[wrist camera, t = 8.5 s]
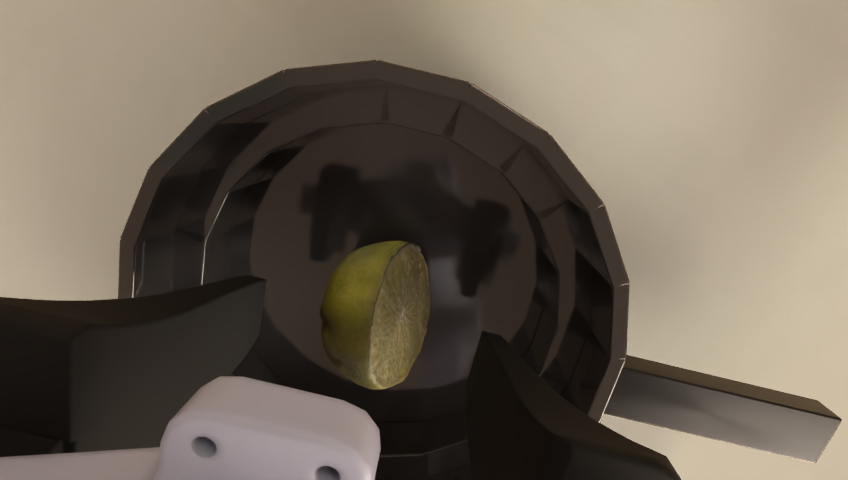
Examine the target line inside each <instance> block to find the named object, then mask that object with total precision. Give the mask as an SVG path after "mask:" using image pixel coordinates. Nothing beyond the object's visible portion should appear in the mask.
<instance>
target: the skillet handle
mask: <svg viewBox="0 0 848 480" xmlns="http://www.w3.org/2000/svg"><path fill="white" fill-rule="evenodd" d="M604 414H609V415H613V416H617V417H621V418H626V419H630V420H634V421H638V422H642V423H647V424H651V425H655V426H659V427H664V428H668V429H672V430H676V431H680V432H685V433H689V434H693V435H697V436H702V437H706V438H710V439H714V440H718V441H723V442H727V443H731V444H735V445H740V446H744V447H748V448H752V449H756V450H761V451H765V452H769V453H773V454H778V455H782V456H786V457H790V458H794V459H799V460H803V461H807V462H811V463H816V462H817V460H818V459H819V457H820V455H821V454H822V452H823V450H824V449H825V447H826V445H827V444H828V442H829V441H830V439H831V437H832V436H833V434H834V432H835V431H836V429H837V427H838V426H839V424H840V422H841V421H842V419H841V418H839V417H838V416H837V415H836V414H834V413H833V412H832V411H830V410H829V409H828V408H826V407H825V406H824V405H823V404H821V403H820V402H819V401H817V400H813V399H809V398H805V397H801V396H796V395H792V394H788V393H784V392H780V391H775V390H771V389H767V388H763V387H759V386H754V385H750V384H746V383H742V382H738V381H733V380H729V379H725V378H721V377H717V376H712V375H708V374H704V373H700V372H696V371H691V370H687V369H683V368H679V367H675V366H670V365H666V364H662V363H658V362H654V361H649V360H645V359H641V358H637V357H633V356H628V355H626V359H625V363H624V366H623V368H622V371H621V373H620V375H619V378H618V380H617V382H616V385H615V387H614V390H613V392H612V394H611V397H610V399H609V402H608V404H607V406H606V409H605V411H604Z"/></svg>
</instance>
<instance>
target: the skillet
mask: <svg viewBox="0 0 848 480" xmlns="http://www.w3.org/2000/svg"><path fill="white" fill-rule="evenodd" d="M386 241H404V242H409V243H413V244H414V245H418V246H420V249H421V251H420V252H421V254H422V255H423V257H424V260H425V262H426V265H427V268H428V278H429V289H430V291H429V292H430V293H429V294H430V313H429V318H428V321H427V325H426V328H427V332H426V334H425V336H424V340H423V342H422V347H421V350H420V353H419V354H418V356H417V357H416V360H415V361H414V363H413V365H412V366H411V369H410V371H409V373H408V375H407V377H406V378H405V379H404V381H403V382H401V383H398V384H396V385H394V386H393V387H389V388H386V389H377V390H374V389H368V388H365V387H363V386H361V385H358V384H356V383H355V382H353V381H352V380H351V379H348V378H347V377H345V376H344V375H343V374H341V373H340V372H339V371H338V370H337V369H336V368H335V367H334V366H333V365H332V364H331V362H330V360H329V358H328V356H327V355H326V352H325V350H324V347H323V345H322V336H321V327H322V320H321V317H320V308H321V305H322V303H323V299H324V294H325V291H326V287H327V284H328V281H329V279H330V277H331V275H332V273H333V272H334V270H335V268H336V267H337V266H338V265H339V263H340V262H341V261H342V260H343V259H344V258H345V257H346V256H347V255H348V254H350V253H351V252H353V251H355V250H357V249H359V248H362V247H364V246H368V245H371V244H375V243H380V242H386ZM244 275H251V276H255V277H259V278H263V279H267V282H266V289H265V297H264V304H263V311H262V318H261V325H260V333H259V336H258V337H257V339H256V341H255V342H254V344H253V346H252V347H251V349H250V350H249V352H248V353H247V355H246V356H245V358H244V359H243V360H242V361H241V363H240V364H239V365H238V366H237V367H236V368H235V370H234V371H233V372H232V373H231V374H230V375H229V376H238V377H247V378H252V379H256V380H260V381H264V382H269V383H273V384H277V385H281V386H285V387H290V388H294V389H298V390H302V391H306V392H311V393H315V394H319V395H323V396H328V397H332V398H336V399H340V400H344V401H346V402H348V403H350V404H352V405H355V406H357V407H359V408H361V409H363V410H365V411H366V412H367V413H368V415H369V416H370V417H371V419H372V420H373V421H374V423H375V424H376V425H377V427H378V428H379V432H380V446H381V450H380V455H379V460H378V465H377V469H376V474H375V480H472V473H471V463H470V454H469V444H468V435H467V425H466V415H465V398H466V383H467V379H468V376H469V373H470V369H471V366H472V363H473V360H474V356H475V353H476V350H477V346H478V343H479V340H480V336H481V333H482V331H485V332H490V333H494V334H498V335H501V336H502V337H503V338H504V339H505V340H506V341H507V342H508V343H509V344H510V345H511V347H512V348H513V349H514V350H515V351H516V352H517V353H518V355H519V356H520V357H521V358H522V359H523V360H524V361H525V362H526V363H527V364H528V365H529V367H530V368H531V369H532V370H533V371H534V372H535V373H536V374H537V375H538V376H539V377H540V378H541V379H542V380H543V381H545V382H546V383H547V384H548V385H549V386H550V387H551V388H552V389H553V390H554V391H556V392H557V393H558V394H559V395H561V396H562V397H563V398H564V399H566V400H567V401H568V402H569V403H571V404H572V405H573V406H575V407H576V408H578V409H579V410H580V411H582V412H583V413H585V414H586V415H588V416H589V417H591V418H592V419H594V420H596V421H597V422H599V423H600V421H601V418H602V416H603V414H604V411H605V409H606V406H607V404H608V402H609V399H610V397H611V394H612V392H613V390H614V387H615V385H616V382H617V380H618V378H619V375H620V373H621V371H622V368H623V366H624V363H625V359H626V350H627V328H628V306H629V279H628V276H627V273H626V270H625V266H624V263H623V260H622V257H621V254H620V251H619V248H618V245H617V241H616V238H615V235H614V232H613V229H612V226H611V223H610V220H609V216H608V213H607V210H606V207H605V205H604V204H603V202H602V200H601V199H600V198H599V196H598V195H597V194H596V193H595V191H594V190H593V189H592V187H591V186H590V185H589V184H588V182H587V181H586V180H585V178H584V177H583V176H582V174H581V173H580V172H579V171H578V169H577V168H576V167H575V165H574V164H573V163H572V162H571V160H570V159H569V158H568V156H567V155H566V154H565V153H564V151H563V150H562V149H561V147H560V146H559V145H558V144H557V142H556V141H555V140H554V138H553V137H552V136H551V135H549V133H548V132H547V131H545V130H544V129H542V128H540V127H539V126H537V125H536V124H534V123H533V122H531V121H530V120H528V119H526V118H525V117H523V116H522V115H520V114H519V113H517V112H516V111H514V110H512V109H511V108H509V107H508V106H506V105H505V104H503V103H502V102H500V101H499V100H497V99H495V98H494V97H492V96H491V95H489V94H488V93H486V92H485V91H483V90H481V89H480V88H478V87H477V86H475V85H474V84H470V83H469V82H467V81H462V80H458V79H454V78H450V77H446V76H442V75H438V74H434V73H430V72H425V71H421V70H417V69H413V68H409V67H405V66H401V65H397V64H392V63H388V62H384V61H380V60H379V61H376V60H370V61H360V62H350V63H341V64H331V65H321V66H311V67H301V68H291V69H286V70H282V71H280V72H277V73H275V74H273V75H271V76H269V77H267V78H265V79H263V80H261V81H259V82H257V83H255V84H253V85H251V86H249V87H247V88H245V89H243V90H240V91H238V92H236V93H234V94H232V95H230V96H228V97H226V98H224V99H222V100H220V101H218V102H216V103H214V104H212V105H210V106H208V107H206V109H203V110H202V112H201V113H200V114H199V115H198V116H197V117H196V118H195V119H194V120H193V121H192V122H191V123H190V124H189V125H188V126H187V128H186V129H185V130H184V131H183V132H182V133H181V134H180V135H179V136H178V137H177V138H176V139H175V140H174V141H173V143H172V144H171V145H170V146H169V147H168V148H167V149H166V150H165V151H164V152H163V153H162V154H161V155H160V156H159V157H158V159H157V160H156V161H155V162H154V163H153V164H152V165H151V166H150V168H149V169H148V171H147V173H146V176H145V178H144V181H143V183H142V186H141V188H140V191H139V193H138V196H137V198H136V201H135V203H134V206H133V208H132V211H131V213H130V216H129V218H128V220H127V223H126V225H125V228H124V230H123V233H122V235H121V240H120V254H119V287H118V299H125V298H135V297H143V296H151V295H158V294H164V293H169V292H174V291H178V290H183V289H188V288H192V287H197V286H201V285H205V284H209V283H213V282H217V281H221V280H225V279H229V278H233V277H238V276H244Z"/></svg>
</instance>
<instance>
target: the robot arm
mask: <svg viewBox="0 0 848 480" xmlns="http://www.w3.org/2000/svg"><path fill="white" fill-rule="evenodd" d="M266 282H267V279H263V278H259V277H255V276H251V275H244V276H238V277H233V278H229V279H225V280H221V281H217V282H213V283H209V284H205V285H201V286H197V287H192V288H188V289H183V290H178V291H174V292H169V293H164V294H158V295H151V296H143V297H135V298H125V299H109V300H93V301H52V300H32V299H18V298H4V297H0V480H375V474H376V469H377V465H378V460H379V455H380V450H381V446H380V432H379V428H378V427H377V425H376V424H375V423H374V421H373V420H372V419H371V417H370V416H369V415H368V413H367V412H366V411H365V410H363V409H361V408H359V407H357V406H355V405H352V404H350V403H348V402H346V401H344V400H340V399H336V398H332V397H328V396H323V395H319V394H315V393H311V392H306V391H302V390H298V389H294V388H290V387H285V386H281V385H277V384H273V383H269V382H264V381H260V380H256V379H252V378H247V377H238V376H229V375H230V374H231V373H232V372H233V371H234V370H235V368H236V367H237V366H238V365H239V364H240V363H241V361H242V360H243V359H244V358H245V356H246V355H247V353H248V352H249V350H250V349H251V347H252V346H253V344H254V342H255V341H256V339H257V337H258V336H259V333H260V325H261V318H262V311H263V304H264V297H265V289H266ZM465 415H466V425H467V435H468V444H469V454H470V463H471V473H472V480H681V478H680V477H679V475H678V474H677V472H676V471H675V469H674V468H673V466H672V464H671V463H670V461H669V460H668V458H667V457H666V456H664V455H662V454H660V453H658V452H655V451H653V450H651V449H649V448H647V447H644V446H642V445H640V444H638V443H636V442H633V441H631V440H629V439H627V438H625V437H624V436H622V435H620V434H618V433H616V432H614V431H613V430H611V429H609V428H607V427H606V426H604V425H602V424H600V423H599V422H597V421H596V420H594V419H592V418H591V417H589V416H588V415H586V414H585V413H583V412H582V411H580V410H579V409H578V408H576V407H575V406H573V405H572V404H571V403H569V402H568V401H567V400H566V399H564V398H563V397H562V396H561V395H559V394H558V393H557V392H556V391H554V390H553V389H552V388H551V387H550V386H549V385H548V384H547V383H546V382H545V381H543V380H542V379H541V378H540V377H539V376H538V375H537V374H536V373H535V372H534V371H533V370H532V369H531V368H530V367H529V365H528V364H527V363H526V362H525V361H524V360H523V359H522V358H521V357H520V356H519V355H518V353H517V352H516V351H515V350H514V349H513V348H512V347H511V345H510V344H509V343H508V342H507V341H506V340H505V339H504V338H503V337H502V336H501V335H498V334H494V333H490V332H485V331H482V333H481V336H480V340H479V343H478V346H477V350H476V353H475V356H474V360H473V363H472V366H471V369H470V373H469V376H468V379H467V383H466V398H465Z"/></svg>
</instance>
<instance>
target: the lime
mask: <svg viewBox="0 0 848 480" xmlns="http://www.w3.org/2000/svg"><path fill="white" fill-rule="evenodd" d="M420 251H421V249H420V246H418V245H414V244H413V243H409V242H404V241H386V242H380V243H375V244H371V245H368V246H364V247H362V248H359V249H357V250H355V251H353V252H351V253H350V254H348V255H347V256H346V257H345V258H344V259H343V260H342V261H341V262H340V263H339V265H338V266H337V267H336V268H335V270H334V272H333V273H332V275H331V277H330V279H329V281H328V284H327V287H326V291H325V294H324V299H323V303H322V305H321V308H320V317H321V320H322V327H321V336H322V345H323V347H324V350H325V352H326V355H327V356H328V358H329V360H330V362H331V364H332V365H333V366H334V367H335V368H336V369H337V370H338V371H339V372H340V373H341V374H343V375H344V376H345V377H347V378H348V379H351V380H352V381H353V382H355V383H356V384H358V385H361V386H363V387H365V388H368V389H374V390H377V389H386V388H389V387H393V386H394V385H396V384H398V383H401V382H403V381H404V379H405V378H406V377H407V375H408V373H409V371H410V369H411V366H412V365H413V363H414V361H415V360H416V357H417V356H418V354H419V353H420V350H421V347H422V342H423V340H424V336H425V334H426V332H427V328H426V325H427V321H428V318H429V313H430V294H429V293H430V292H429V291H430V289H429V278H428V268H427V265H426V262H425V260H424V257H423V255H422V254H421V252H420Z"/></svg>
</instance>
